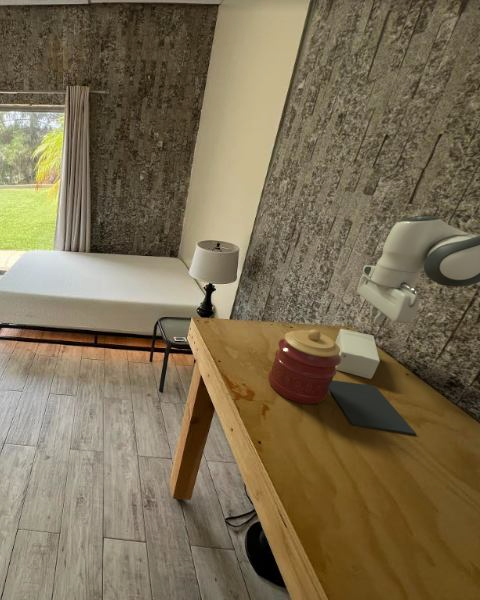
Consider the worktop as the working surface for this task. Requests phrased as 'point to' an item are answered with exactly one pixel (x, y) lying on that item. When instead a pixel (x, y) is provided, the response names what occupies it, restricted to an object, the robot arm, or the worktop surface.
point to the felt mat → (368, 407)
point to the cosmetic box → (357, 353)
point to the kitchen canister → (304, 366)
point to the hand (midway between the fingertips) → (374, 321)
